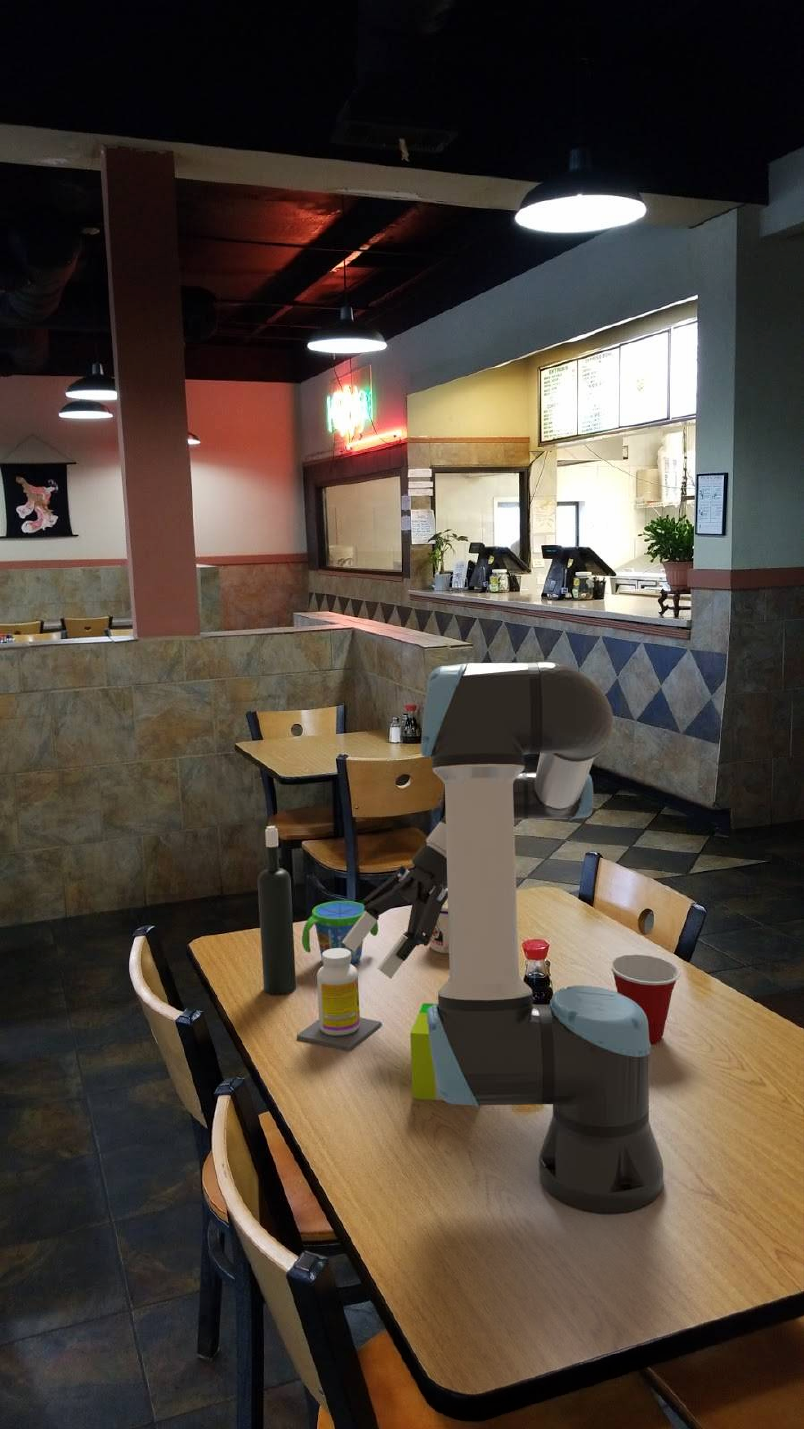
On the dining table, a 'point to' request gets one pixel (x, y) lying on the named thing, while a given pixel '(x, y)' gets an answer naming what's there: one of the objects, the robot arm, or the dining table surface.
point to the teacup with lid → (441, 931)
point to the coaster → (340, 1042)
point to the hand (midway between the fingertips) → (365, 960)
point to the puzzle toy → (422, 1059)
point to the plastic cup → (647, 987)
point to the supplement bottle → (338, 993)
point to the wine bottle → (276, 922)
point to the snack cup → (335, 926)
